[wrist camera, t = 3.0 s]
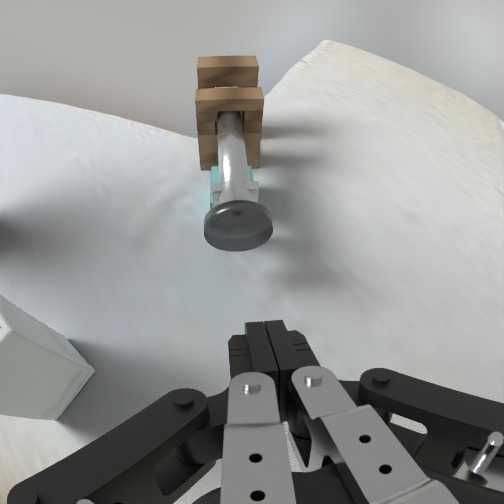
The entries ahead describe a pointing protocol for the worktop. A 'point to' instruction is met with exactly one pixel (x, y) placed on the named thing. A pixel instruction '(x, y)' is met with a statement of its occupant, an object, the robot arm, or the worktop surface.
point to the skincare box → (36, 367)
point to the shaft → (235, 194)
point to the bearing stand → (228, 104)
